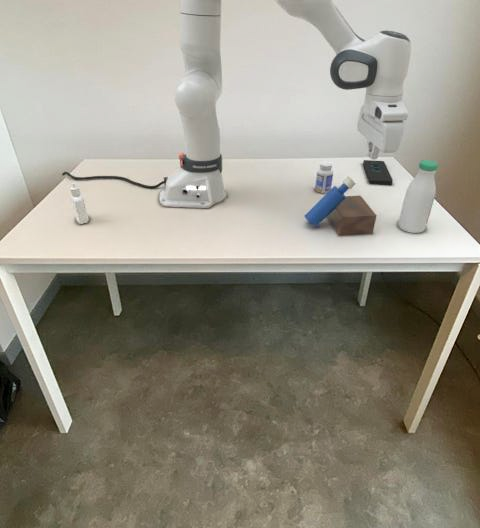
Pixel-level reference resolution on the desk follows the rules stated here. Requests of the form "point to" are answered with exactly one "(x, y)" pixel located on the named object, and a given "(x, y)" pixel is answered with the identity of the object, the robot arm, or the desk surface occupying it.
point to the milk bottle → (419, 198)
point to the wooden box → (353, 217)
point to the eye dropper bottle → (78, 205)
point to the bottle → (328, 203)
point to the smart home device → (377, 172)
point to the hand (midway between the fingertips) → (372, 157)
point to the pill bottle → (324, 177)
